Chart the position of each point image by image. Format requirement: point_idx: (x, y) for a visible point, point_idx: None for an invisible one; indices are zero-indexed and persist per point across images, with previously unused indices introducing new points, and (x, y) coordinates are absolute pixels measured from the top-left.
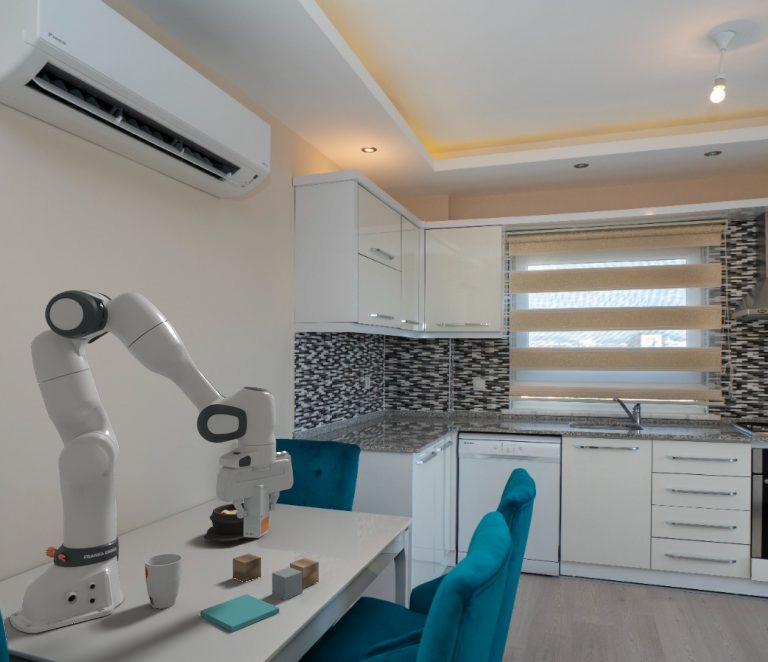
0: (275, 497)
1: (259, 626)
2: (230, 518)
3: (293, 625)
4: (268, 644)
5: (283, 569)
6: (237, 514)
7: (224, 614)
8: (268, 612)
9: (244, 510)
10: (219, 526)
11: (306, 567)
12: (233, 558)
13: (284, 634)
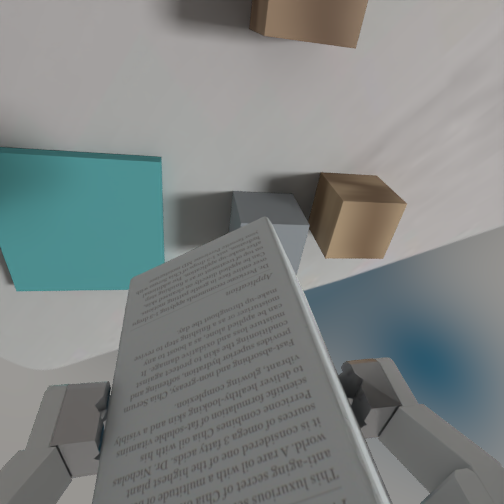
0: (423, 480)
1: (89, 299)
2: None
3: None
4: (62, 354)
5: (284, 227)
6: (43, 407)
7: (28, 227)
8: None
9: (79, 475)
10: None
11: (337, 256)
12: None
13: (109, 346)
